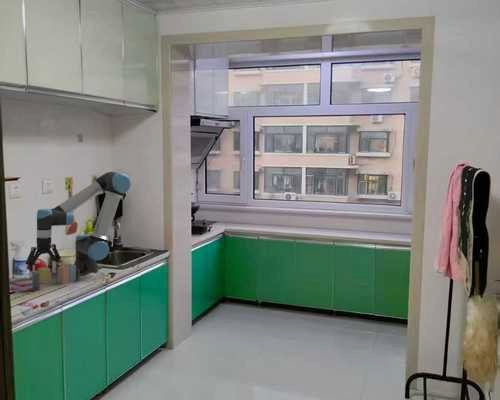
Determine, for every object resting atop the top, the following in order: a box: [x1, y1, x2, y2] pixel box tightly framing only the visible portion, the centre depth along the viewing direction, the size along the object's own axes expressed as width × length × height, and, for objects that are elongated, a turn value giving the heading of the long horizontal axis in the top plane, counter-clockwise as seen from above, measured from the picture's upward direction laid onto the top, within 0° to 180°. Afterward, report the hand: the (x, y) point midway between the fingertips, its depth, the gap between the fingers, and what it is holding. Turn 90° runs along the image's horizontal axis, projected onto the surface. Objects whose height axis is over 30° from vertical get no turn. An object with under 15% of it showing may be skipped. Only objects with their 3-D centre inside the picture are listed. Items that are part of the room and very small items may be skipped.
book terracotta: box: [57, 265, 71, 285], centre depth 262 cm, size 4×5×9 cm
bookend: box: [27, 272, 41, 292], centre depth 247 cm, size 4×5×9 cm
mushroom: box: [26, 258, 48, 280], centre depth 272 cm, size 11×11×12 cm
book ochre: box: [38, 267, 51, 284], centre depth 262 cm, size 4×5×9 cm
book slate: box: [63, 263, 77, 283], centre depth 266 cm, size 4×5×9 cm
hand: (43, 274), depth 261 cm, fingers open, 13 cm apart
